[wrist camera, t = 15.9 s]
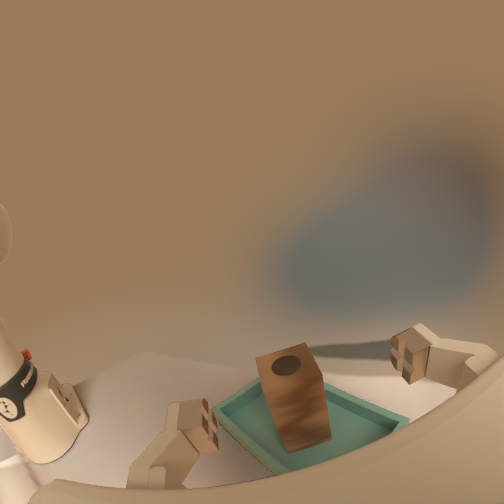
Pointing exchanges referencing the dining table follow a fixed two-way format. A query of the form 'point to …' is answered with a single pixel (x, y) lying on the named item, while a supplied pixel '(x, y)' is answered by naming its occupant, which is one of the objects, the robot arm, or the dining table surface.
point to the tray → (343, 441)
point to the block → (295, 397)
